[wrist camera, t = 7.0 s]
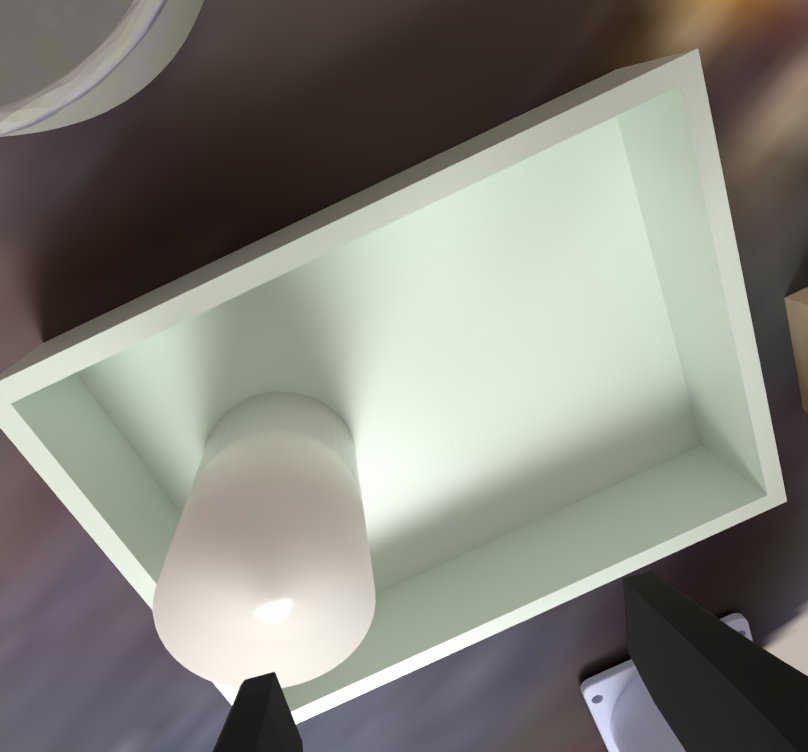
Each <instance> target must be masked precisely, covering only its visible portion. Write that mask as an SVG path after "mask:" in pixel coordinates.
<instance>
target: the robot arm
mask: <svg viewBox="0 0 808 752" xmlns="http://www.w3.org/2000/svg"><path fill="white" fill-rule="evenodd" d="M623 585H624V599H625V614H626V628H627V642H628V653H629V655H630V657H631V659H630V660H628V661H626V662H623V663H621V664H619V665H617V666H614V667H612V668H610V669H608V670H606V671H603V672H601V673H599V674H597V675H594V676H592V677H590V678H588V679H586V680H585V681H584V682H583V683H582V684H581V687H580V688H581V692H582V694H583V696H584V698H585V701H586V703H587V705H588V707H589V709H590V712H591V714H592V716H593V718H594V720H595V723H596V725H597V727H598V729H599V731H600V734H601V736H602V738H603V740H604V742H605V745H606V747H607V749H608V751H609V752H808V676H806V675H805V674H803V673H801V672H800V671H798V670H797V669H795V668H793V667H792V666H790V665H788V664H787V663H785V662H783V661H782V660H780V659H779V658H777V657H776V656H774V655H772V654H771V653H769V652H768V651H766V650H765V649H763V648H762V647H760V646H758V645H757V644H755V643H754V642H753V640H752V636H751V632H750V628H749V624H748V621H747V620H746V619H745V618H744V616H743V615H742V614H740V613H733V614H730V615H728V616H726V617H723V618H721V619H718V618H717V617H715V616H714V615H713V614H711V613H710V612H708V611H707V610H706V609H704V608H703V607H701V606H700V605H699V604H697V603H696V602H694V601H693V600H692V599H690V598H689V597H687V596H686V595H685V594H683V593H682V592H680V591H679V590H678V589H676V588H675V587H674V586H672V585H671V584H669V583H668V582H667V581H665V580H664V579H663V578H661V577H660V576H658V575H657V574H655V573H654V572H652V571H650V572H646V573H642V574H638V575H635V576H631V577H627V578H623ZM213 752H303V746H302V740H301V737H300V735H299V732H298V729H297V727H296V724H295V722H294V719H293V717H292V714H291V712H290V709H289V706H288V704H287V701H286V699H285V696H284V694H283V691H282V689H281V686H280V683H279V681H278V678H277V676H276V673H275V672H272V673H268V674H264V675H260V676H257V677H253V678H249V679H245V680H244V681H243V683H242V684H241V685H240V688H239V690H238V693H237V695H236V698H235V700H234V703H233V705H232V708H231V710H230V713H229V715H228V717H227V720H226V722H225V724H224V727H223V729H222V731H221V734H220V736H219V738H218V741H217V743H216V745H215V747H214V750H213Z"/></svg>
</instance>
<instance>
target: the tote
mask: <svg viewBox="0 0 808 752" xmlns="http://www.w3.org/2000/svg"><path fill="white" fill-rule="evenodd" d="M270 392H292V393H298V394H302V395H306V396H309V397H312V398H314V399H316V400H318V401H320V402H322V403H324V404H325V405H327V406H328V407H330V408H331V409H332V410H334V411H335V412H336V413H337V414H338V415H339V416H340V417H341V418H342V420H343V421H344V423H345V424H346V425H347V427H348V429H349V431H350V433H351V435H352V438H353V441H354V445H355V451H356V458H357V465H358V472H359V479H360V486H361V493H362V501H363V508H364V515H365V522H366V529H367V536H368V543H369V550H370V557H371V565H372V572H373V579H374V586H375V598H376V603H375V611H374V616H373V619H372V623H371V625H370V627H369V630H368V632H367V634H366V635H365V637H364V639H363V640H362V642H361V643H360V645H359V646H358V647H357V648H356V649H355V650H354V652H353V653H352V654H351V655H350V656H349V657H347V658H346V659H345V660H344V661H343V662H342V663H340V664H339V665H338V666H336V667H335V668H333V669H332V670H330V671H328V672H327V673H325V674H323V675H321V676H319V677H317V678H314V679H312V680H310V681H307V682H304V683H301V684H298V685H294V686H289V687H285V688H281V689H282V691H283V694H284V696H285V699H286V701H287V704H288V706H289V709H290V712H291V714H292V717H293V719H294V722H295V724H298V723H300V722H302V721H304V720H307V719H309V718H311V717H313V716H315V715H318V714H320V713H322V712H324V711H326V710H329V709H331V708H333V707H335V706H337V705H340V704H342V703H344V702H346V701H348V700H351V699H353V698H355V697H357V696H359V695H362V694H364V693H366V692H368V691H370V690H373V689H375V688H377V687H379V686H381V685H384V684H386V683H388V682H390V681H392V680H395V679H397V678H399V677H401V676H403V675H406V674H408V673H410V672H412V671H414V670H417V669H419V668H421V667H423V666H425V665H428V664H430V663H432V662H434V661H437V660H439V659H441V658H443V657H445V656H448V655H450V654H452V653H454V652H456V651H459V650H461V649H463V648H465V647H467V646H470V645H472V644H474V643H476V642H478V641H481V640H483V639H485V638H487V637H489V636H492V635H494V634H496V633H498V632H500V631H503V630H505V629H507V628H509V627H511V626H514V625H516V624H518V623H520V622H522V621H525V620H527V619H529V618H531V617H533V616H536V615H538V614H540V613H542V612H544V611H547V610H549V609H551V608H553V607H555V606H558V605H560V604H562V603H564V602H566V601H569V600H571V599H573V598H575V597H578V596H580V595H582V594H584V593H586V592H589V591H591V590H593V589H595V588H597V587H600V586H602V585H604V584H606V583H608V582H611V581H613V580H615V579H617V578H619V577H622V576H624V575H626V574H628V573H630V572H633V571H635V570H637V569H639V568H641V567H644V566H646V565H648V564H650V563H652V562H655V561H657V560H659V559H661V558H663V557H666V556H668V555H670V554H672V553H674V552H677V551H679V550H681V549H683V548H685V547H688V546H690V545H692V544H694V543H696V542H699V541H701V540H703V539H705V538H707V537H710V536H712V535H714V534H716V533H719V532H721V531H723V530H725V529H727V528H730V527H732V526H734V525H736V524H738V523H741V522H743V521H745V520H747V519H749V518H752V517H754V516H756V515H758V514H760V513H763V512H765V511H767V510H769V509H771V508H774V507H776V506H778V505H780V504H782V503H785V502H787V498H786V493H785V488H784V483H783V478H782V473H781V467H780V462H779V457H778V452H777V447H776V442H775V437H774V432H773V427H772V422H771V417H770V411H769V406H768V401H767V396H766V391H765V386H764V381H763V376H762V371H761V366H760V361H759V356H758V350H757V345H756V340H755V335H754V330H753V325H752V320H751V315H750V310H749V305H748V300H747V294H746V289H745V284H744V279H743V274H742V269H741V264H740V259H739V254H738V249H737V244H736V238H735V233H734V228H733V223H732V218H731V213H730V208H729V203H728V198H727V193H726V188H725V182H724V177H723V172H722V167H721V162H720V157H719V152H718V147H717V142H716V137H715V132H714V126H713V121H712V116H711V111H710V106H709V101H708V96H707V91H706V86H705V81H704V76H703V70H702V65H701V60H700V55H699V50H698V48H697V49H694V50H690V51H686V52H682V53H678V54H674V55H670V56H666V57H662V58H658V59H654V60H651V61H647V62H643V63H639V64H635V65H631V66H627V67H623V68H619V69H616V70H614V71H612V72H610V73H608V74H606V75H603V76H601V77H599V78H597V79H595V80H593V81H591V82H589V83H587V84H585V85H583V86H580V87H578V88H576V89H574V90H572V91H570V92H568V93H566V94H564V95H562V96H559V97H557V98H555V99H553V100H551V101H549V102H547V103H545V104H543V105H541V106H539V107H536V108H534V109H532V110H530V111H528V112H526V113H524V114H522V115H520V116H518V117H515V118H513V119H511V120H509V121H507V122H505V123H503V124H501V125H499V126H497V127H494V128H492V129H490V130H488V131H486V132H484V133H482V134H480V135H478V136H476V137H474V138H471V139H469V140H467V141H465V142H463V143H461V144H459V145H457V146H455V147H453V148H450V149H448V150H446V151H444V152H442V153H440V154H438V155H436V156H434V157H432V158H430V159H427V160H425V161H423V162H421V163H419V164H417V165H415V166H413V167H411V168H409V169H406V170H404V171H402V172H400V173H398V174H396V175H394V176H392V177H390V178H388V179H386V180H383V181H381V182H379V183H377V184H375V185H373V186H371V187H369V188H367V189H365V190H362V191H360V192H358V193H356V194H354V195H352V196H350V197H348V198H346V199H344V200H341V201H339V202H337V203H335V204H333V205H331V206H329V207H327V208H325V209H323V210H321V211H318V212H316V213H314V214H312V215H310V216H308V217H306V218H304V219H302V220H300V221H297V222H295V223H293V224H291V225H289V226H287V227H285V228H283V229H281V230H279V231H277V232H274V233H272V234H270V235H268V236H266V237H264V238H262V239H260V240H258V241H256V242H253V243H251V244H249V245H247V246H245V247H243V248H241V249H239V250H237V251H235V252H233V253H230V254H228V255H226V256H224V257H222V258H220V259H218V260H216V261H214V262H212V263H209V264H207V265H205V266H203V267H201V268H199V269H197V270H195V271H193V272H191V273H188V274H186V275H184V276H182V277H180V278H178V279H176V280H174V281H172V282H170V283H168V284H165V285H163V286H161V287H159V288H157V289H155V290H153V291H151V292H149V293H147V294H144V295H142V296H140V297H138V298H136V299H134V300H132V301H130V302H128V303H126V304H124V305H121V306H119V307H117V308H115V309H113V310H111V311H109V312H107V313H105V314H103V315H100V316H98V317H96V318H94V319H92V320H90V321H88V322H86V323H84V324H82V325H79V326H77V327H75V328H73V329H71V330H69V331H67V332H65V333H63V334H61V335H59V336H56V337H54V338H52V339H50V340H48V341H46V342H44V343H42V344H41V345H39V346H38V347H36V348H35V349H34V350H32V351H31V352H30V353H28V354H27V355H25V356H24V357H23V358H21V359H20V360H19V361H17V362H16V363H14V364H13V365H12V366H10V367H9V368H7V369H6V370H5V371H3V372H2V373H1V374H0V428H1V429H2V430H3V432H4V433H5V434H6V435H7V436H8V438H9V439H10V440H11V441H12V442H13V444H14V445H15V446H16V447H17V448H18V450H19V451H20V452H21V453H22V454H23V456H24V457H25V458H26V459H27V460H28V462H29V463H30V464H31V465H32V466H33V468H34V469H35V470H36V471H37V472H38V474H39V475H40V476H41V477H42V478H43V480H44V481H45V482H46V483H47V484H48V486H49V487H50V488H51V489H52V490H53V492H54V493H55V494H56V495H57V496H58V498H59V499H60V500H61V501H62V502H63V504H64V505H65V506H66V507H67V508H68V510H69V511H70V512H71V513H72V514H73V515H74V517H75V518H76V519H77V520H78V521H79V523H80V524H81V525H82V526H83V527H84V529H85V530H86V531H87V532H88V533H89V535H90V536H91V537H92V538H93V539H94V541H95V542H96V543H97V544H98V545H99V547H100V548H101V549H102V550H103V551H104V553H105V554H106V555H107V556H108V557H109V559H110V560H111V561H112V562H113V563H114V565H115V566H116V567H117V568H118V569H119V571H120V572H121V573H122V574H123V575H124V577H125V578H126V579H127V580H128V581H129V583H130V584H131V585H132V586H133V587H134V589H135V590H136V591H137V592H138V593H139V595H140V596H141V597H142V598H143V599H144V601H145V602H146V603H147V604H148V605H149V607H150V608H151V609H152V610H153V598H154V592H155V589H156V585H157V582H158V579H159V576H160V574H161V571H162V568H163V565H164V562H165V560H166V557H167V554H168V551H169V548H170V546H171V543H172V540H173V537H174V534H175V532H176V529H177V526H178V523H179V520H180V518H181V515H182V512H183V509H184V506H185V504H186V501H187V498H188V495H189V492H190V490H191V487H192V484H193V481H194V478H195V476H196V473H197V470H198V467H199V464H200V462H201V459H202V456H203V453H204V450H205V448H206V445H207V442H208V439H209V436H210V434H211V432H212V430H213V428H214V427H215V425H216V424H217V422H218V421H219V419H220V418H221V417H222V416H223V415H224V414H225V413H226V412H227V411H228V410H230V409H231V408H232V407H233V406H235V405H237V404H238V403H240V402H242V401H244V400H246V399H248V398H250V397H253V396H257V395H260V394H265V393H270ZM213 683H214V685H215V686H216V687H217V688H218V689H219V691H220V692H221V693H222V694H223V695H224V697H225V698H226V699H227V700H228V701H229V703H230V704H231V705H233V703H234V700H235V698H236V695H237V693H238V690H239V688H234V687H228V686H225V685H221V684H217V683H215V682H213Z"/></svg>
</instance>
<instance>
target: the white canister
mask: <svg viewBox="0 0 808 752" xmlns="http://www.w3.org/2000/svg"><path fill="white" fill-rule="evenodd" d="M375 603H376V598H375V586H374V579H373V572H372V565H371V557H370V550H369V543H368V536H367V529H366V522H365V515H364V508H363V501H362V493H361V486H360V479H359V472H358V465H357V458H356V451H355V445H354V441H353V438H352V435H351V433H350V431H349V429H348V427H347V425H346V424H345V423H344V421H343V420H342V418H341V417H340V416H339V415H338V414H337V413H336V412H335V411H334V410H332V409H331V408H330V407H328V406H327V405H325V404H324V403H322V402H320V401H318V400H316V399H314V398H312V397H309V396H306V395H302V394H298V393H292V392H270V393H265V394H260V395H257V396H253V397H250V398H248V399H246V400H244V401H242V402H240V403H238V404H237V405H235V406H233V407H232V408H231V409H230V410H228V411H227V412H226V413H225V414H224V415H223V416H222V417H221V418H220V419H219V421H218V422H217V424H216V425H215V427H214V428H213V430H212V432H211V434H210V436H209V439H208V442H207V445H206V448H205V450H204V453H203V456H202V459H201V462H200V464H199V467H198V470H197V473H196V476H195V478H194V481H193V484H192V487H191V490H190V492H189V495H188V498H187V501H186V504H185V506H184V509H183V512H182V515H181V518H180V520H179V523H178V526H177V529H176V532H175V534H174V537H173V540H172V543H171V546H170V548H169V551H168V554H167V557H166V560H165V562H164V565H163V568H162V571H161V574H160V576H159V579H158V582H157V585H156V589H155V592H154V598H153V617H154V622H155V627H156V629H157V632H158V634H159V637H160V639H161V641H162V642H163V644H164V645H165V647H166V649H167V650H168V651H169V652H170V653H171V655H172V656H173V657H174V658H175V659H176V660H177V661H178V662H180V663H181V664H182V665H183V666H184V667H186V668H187V669H189V670H190V671H192V672H193V673H195V674H197V675H199V676H201V677H202V678H204V679H207V680H209V681H212V682H215V683H217V684H221V685H225V686H228V687H234V688H240V685H241V684H242V683H243V681H244V680H245V679H249V678H253V677H257V676H260V675H264V674H268V673H272V672H275V673H276V676H277V678H278V681H279V683H280V686H281V688H285V687H289V686H294V685H298V684H301V683H304V682H307V681H310V680H312V679H314V678H317V677H319V676H321V675H323V674H325V673H327V672H328V671H330V670H332V669H333V668H335V667H336V666H338V665H339V664H340V663H342V662H343V661H344V660H345V659H346V658H347V657H349V656H350V655H351V654H352V653H353V652H354V650H355V649H356V648H357V647H358V646H359V645H360V643H361V642H362V640H363V639H364V637H365V635H366V634H367V632H368V630H369V627H370V625H371V623H372V619H373V616H374V611H375Z"/></svg>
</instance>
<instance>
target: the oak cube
mask: <svg viewBox="0 0 808 752" xmlns="http://www.w3.org/2000/svg"><path fill="white" fill-rule="evenodd" d="M784 299H785V305H786V311H787V316H788V322H789V328H790V334H791V340H792V346H793V352H794V358H795V364H796V369H797V375H798V381H799V387H800V393H801V399H802V405H803V410H804V411H806V412H808V287H806V288H804V289H802V290H800V291H798V292H796V293H793V294H791V295H789V296H787V297H785V298H784Z"/></svg>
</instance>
